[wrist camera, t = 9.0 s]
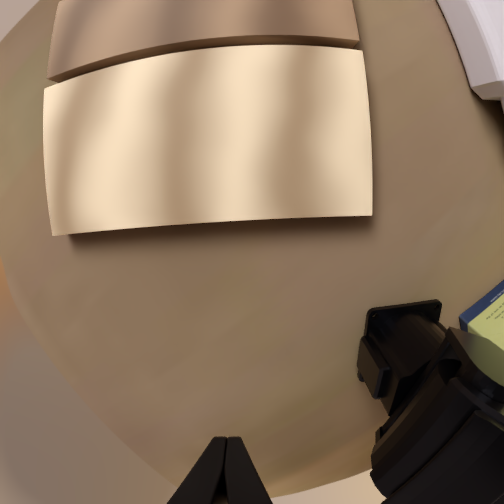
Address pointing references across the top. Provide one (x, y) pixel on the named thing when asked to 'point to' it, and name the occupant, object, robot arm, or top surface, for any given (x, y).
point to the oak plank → (210, 139)
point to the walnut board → (187, 28)
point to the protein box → (487, 317)
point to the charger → (479, 43)
